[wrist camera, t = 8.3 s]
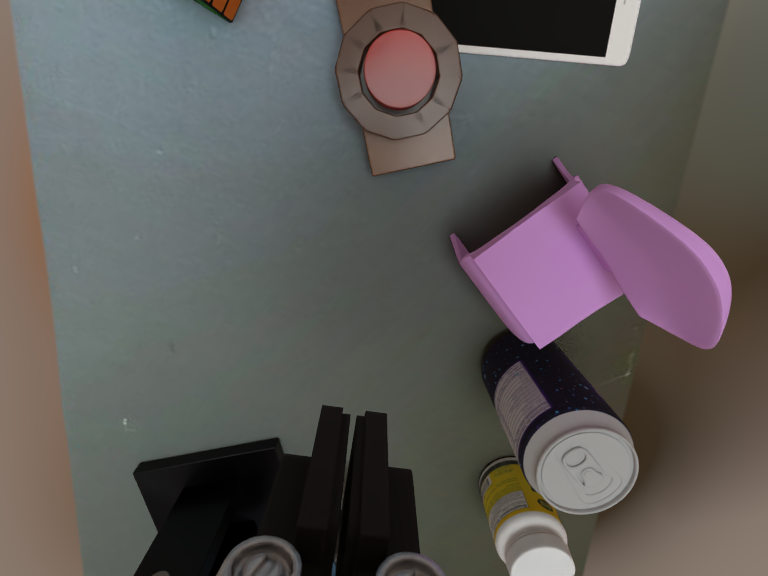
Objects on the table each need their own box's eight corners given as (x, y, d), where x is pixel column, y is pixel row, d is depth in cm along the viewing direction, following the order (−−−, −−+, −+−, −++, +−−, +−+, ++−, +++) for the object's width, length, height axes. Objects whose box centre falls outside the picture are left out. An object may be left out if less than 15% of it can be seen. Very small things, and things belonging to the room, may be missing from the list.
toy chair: (434, 228, 31) (479, 301, 17) (548, 142, 30) (702, 144, 15) (504, 321, 33) (597, 457, 19) (614, 245, 32) (805, 331, 17)
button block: (324, 2, 27) (315, -20, 24) (435, -24, 27) (444, -51, 23) (361, 176, 30) (358, 181, 27) (462, 155, 30) (474, 157, 26)
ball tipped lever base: (278, 437, 36) (232, 572, 25) (308, 531, 39) (278, 692, 27) (139, 462, 37) (32, 606, 25) (178, 553, 39) (96, 720, 28)
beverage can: (508, 411, 35) (569, 540, 24) (463, 357, 34) (504, 466, 23) (573, 367, 34) (669, 480, 23) (528, 310, 33) (607, 399, 22)
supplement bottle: (549, 489, 38) (594, 584, 29) (495, 515, 38) (526, 614, 30) (521, 444, 36) (561, 530, 28) (467, 472, 37) (490, 564, 29)
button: (358, 45, 25) (356, 38, 23) (426, 29, 25) (429, 21, 23) (372, 116, 26) (371, 115, 24) (437, 102, 26) (441, 100, 24)
